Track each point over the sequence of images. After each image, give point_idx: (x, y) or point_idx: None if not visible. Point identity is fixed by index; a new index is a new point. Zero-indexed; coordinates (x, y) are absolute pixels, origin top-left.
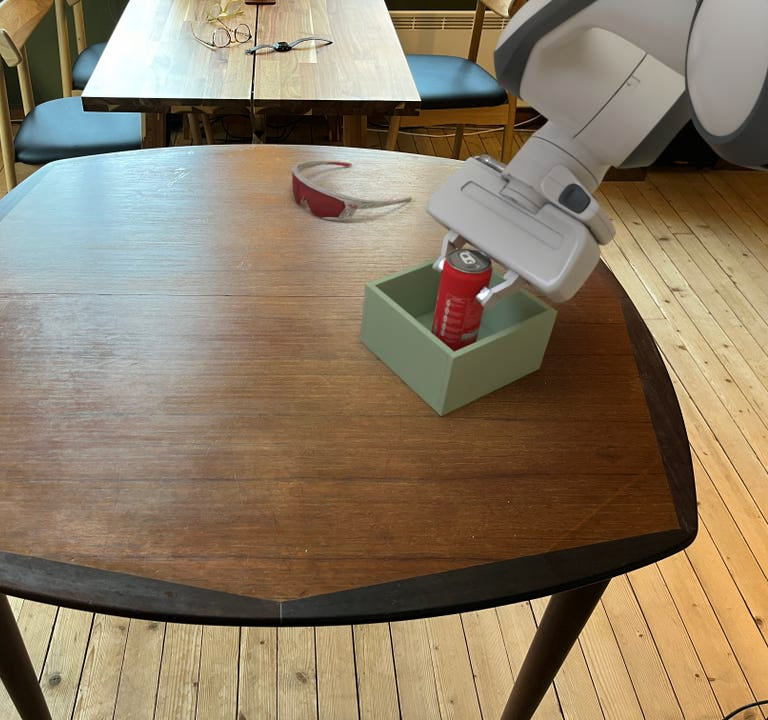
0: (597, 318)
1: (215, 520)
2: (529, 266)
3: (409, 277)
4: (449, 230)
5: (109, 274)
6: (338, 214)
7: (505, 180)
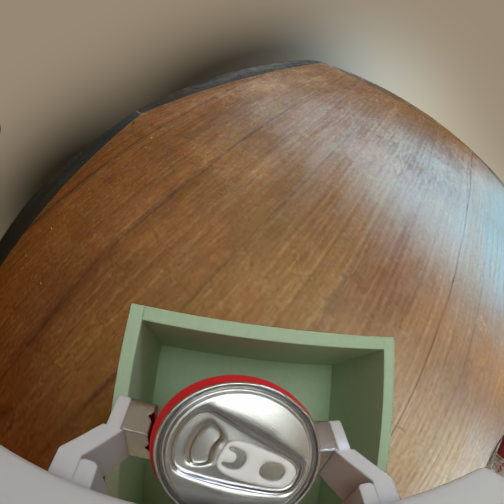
0: None
1: (219, 118)
2: (3, 480)
3: (373, 434)
4: (399, 497)
5: (485, 224)
6: (499, 453)
7: None
